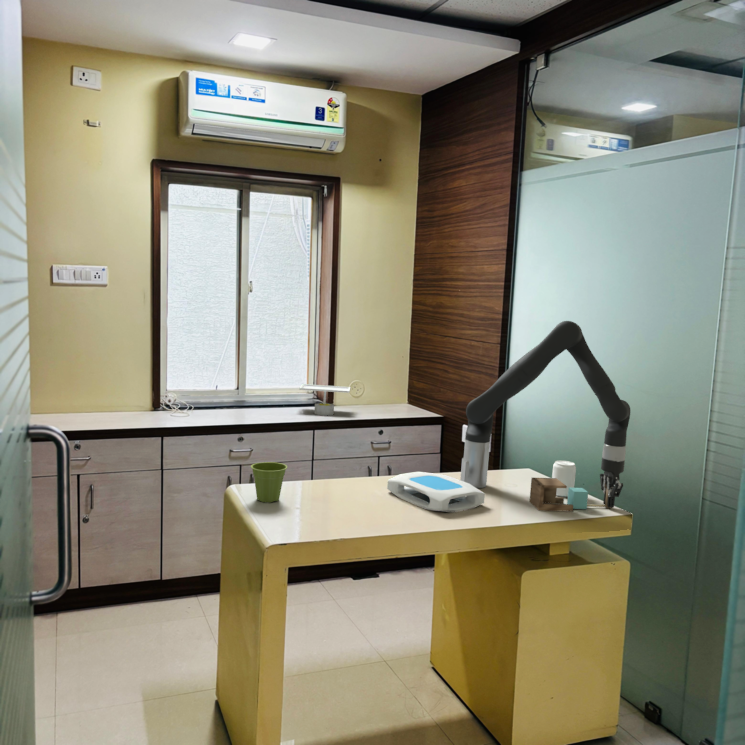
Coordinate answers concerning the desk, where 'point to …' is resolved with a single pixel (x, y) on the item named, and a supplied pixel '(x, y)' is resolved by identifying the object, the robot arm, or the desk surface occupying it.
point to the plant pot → (268, 480)
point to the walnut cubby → (547, 495)
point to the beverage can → (564, 476)
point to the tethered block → (582, 498)
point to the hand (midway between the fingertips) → (608, 505)
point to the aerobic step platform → (436, 491)
